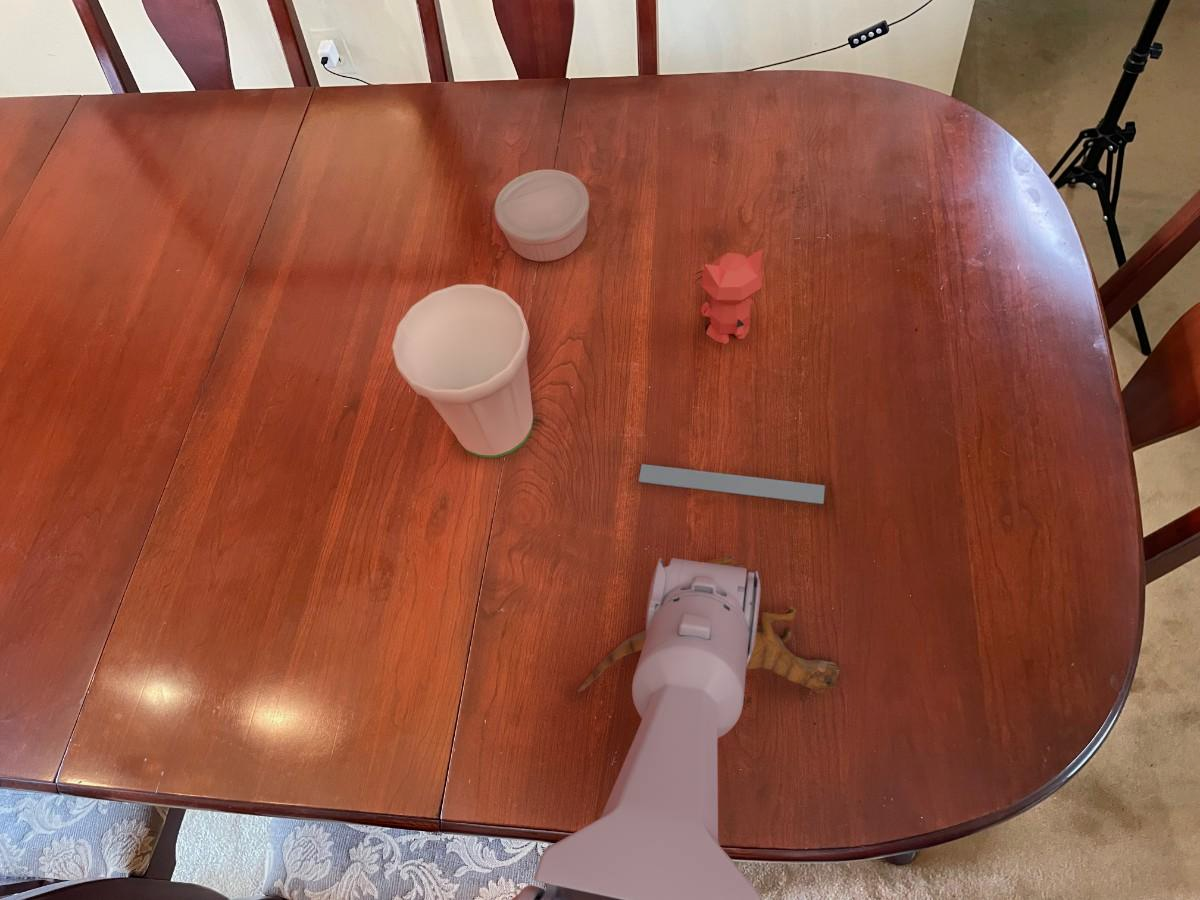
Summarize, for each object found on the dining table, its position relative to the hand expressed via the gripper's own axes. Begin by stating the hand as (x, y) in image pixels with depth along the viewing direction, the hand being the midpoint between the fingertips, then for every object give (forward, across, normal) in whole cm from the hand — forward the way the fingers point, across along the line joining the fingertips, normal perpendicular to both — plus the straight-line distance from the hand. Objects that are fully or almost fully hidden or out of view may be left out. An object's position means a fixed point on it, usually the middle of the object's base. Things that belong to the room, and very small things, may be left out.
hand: (702, 697), depth 71 cm
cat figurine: (+2, -40, -2) cm, 40 cm away
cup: (+2, -25, -25) cm, 36 cm away
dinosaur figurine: (+2, -5, 0) cm, 6 cm away
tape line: (+2, -22, 0) cm, 22 cm away
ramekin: (+2, -52, -25) cm, 58 cm away
